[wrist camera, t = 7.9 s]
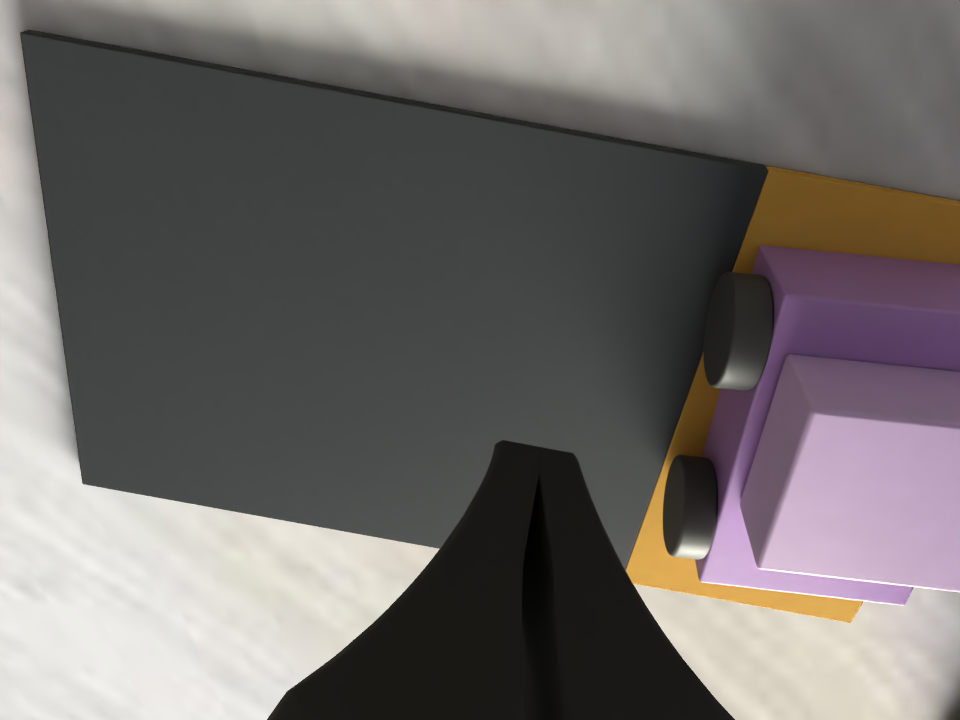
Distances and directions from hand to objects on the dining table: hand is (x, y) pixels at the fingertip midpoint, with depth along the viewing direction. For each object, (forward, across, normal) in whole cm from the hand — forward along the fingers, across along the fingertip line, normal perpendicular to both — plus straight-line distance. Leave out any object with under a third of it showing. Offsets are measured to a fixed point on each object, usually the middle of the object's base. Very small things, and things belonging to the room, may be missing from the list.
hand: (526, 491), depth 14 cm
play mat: (+5, +1, +1) cm, 5 cm away
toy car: (+4, -6, 0) cm, 8 cm away
